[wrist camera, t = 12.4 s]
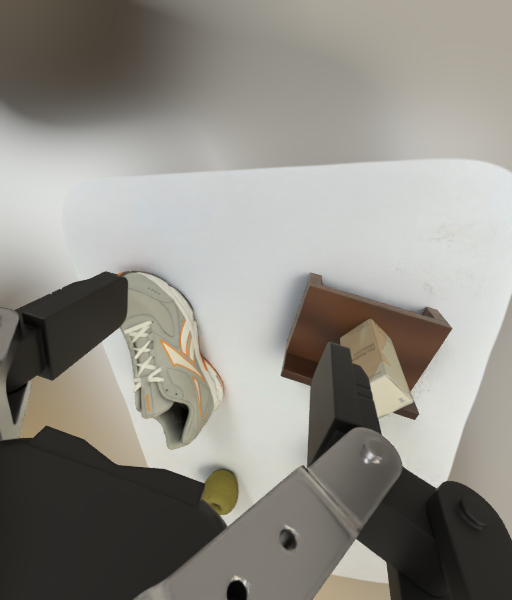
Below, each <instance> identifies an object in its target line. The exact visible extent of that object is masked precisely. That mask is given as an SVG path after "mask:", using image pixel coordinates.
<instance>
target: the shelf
mask: <svg viewBox="0 0 512 600" xmlns="http://www.w3.org/2000/svg"><path fill="white" fill-rule="evenodd" d="M368 319H372V320H373V321H374V322H375V323H376V324H377V325H378V326H379V327H380V328H381V329H382V330H383V331H384V332H385V333H386V334H387V335H388V337H389V338H390V339H391V341H392V344H393V346H394V349H395V352H396V355H397V358H398V360H399V363H400V366H401V369H402V371H403V374H404V377H405V380H406V382H407V385H408V388H409V390H410V393H411V390H412V389H413V387H414V386H415V384H416V383H417V381H418V380H419V378H420V377H421V375H422V374H423V372H424V371H425V369H426V368H427V366H428V364H429V363H430V361H431V360H432V358H433V357H434V355H435V354H436V352H437V351H438V349H439V348H440V346H441V345H442V343H443V342H444V340H445V339H446V337H447V336H448V334H449V333H450V331H451V330H452V327H451V326H450V325H449V324H448V323H447V321H446V320H445V319H444V317H443V316H442V315H441V314H440V313H439V311H438V310H435V309H432V308H428V307H426V308H425V310H424V312H423V313H422V315H421V314H417V313H414V312H411V311H407V310H404V309H400V308H397V307H394V306H390V305H387V304H384V303H380V302H377V301H374V300H370V299H367V298H364V297H360V296H357V295H354V294H350V293H347V292H343V291H340V290H337V289H333V288H330V287H327V286H323V285H322V276H320V275H317V274H314V273H311V274H310V277H309V280H308V282H307V285H306V288H305V291H304V294H303V297H302V300H301V302H300V305H299V308H298V311H297V314H296V317H295V320H294V322H293V325H292V328H291V331H290V334H289V337H288V340H287V345H286V350H285V355H284V361H283V366H282V371H281V376H282V377H285V378H288V379H291V380H294V381H297V382H300V383H304V384H307V385H310V386H311V383H312V379H313V376H314V373H315V371H316V368H317V366H318V364H319V361H320V359H321V357H322V355H323V352H324V350H325V348H326V345H327V344H328V342H332V343H335V344H339V345H340V338H341V337H342V336H344V335H345V334H347V333H348V332H350V331H351V330H353V329H354V328H356V327H357V326H359V325H360V324H362V323H364V322H365V321H367V320H368ZM411 396H412V395H411ZM412 398H413V397H412ZM393 413H395V414H398V415H401V416H404V417H407V418H410V419H413V420H415V419H416V418H417V416H418V415H419V412H418V410H417V407H416V405H415V402H414V400H413V403H411V404H409V405H407V406H404V407H402V408H400V409H398V410H396V411H394V412H393Z"/></svg>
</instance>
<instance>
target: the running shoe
mask: <svg viewBox="0 0 512 600" xmlns="http://www.w3.org/2000/svg"><path fill="white" fill-rule="evenodd" d="M117 275H120V276H123V277H126V278H127V280H128V311H127V316H126V319H125V321H124V323H123V324H122V325H121V326H120V329H121V331H122V333H123V335H124V337H125V340H126V342H127V344H128V348H129V350H130V354H131V359H132V365H133V373H134V382H135V387H134V393H135V405H136V409H137V411H139V412H141V413H142V417H143V418H145V419H148V418H154V419H156V420H157V421H158V422H159V423H160V424H161V425H162V427H163V429H164V433H165V436H166V443H167V447H168V448H169V449H171V450H173V449H176V448H180V447H183V446H186V445H188V444H189V443H191V442H192V441H193V440H194V439H195V438H196V437H197V435H198V434H199V433H200V431H201V429H202V427H203V426H204V425H205V423H206V422H207V420H208V419H209V417H210V416H211V414H212V412H213V411H214V410H216V409H217V407H218V406H219V405H220V403H221V402H222V400H223V395H224V388H223V382H222V381H221V378H220V376H219V374H217V371H216V370H215V369H214V368H213V366H212V365H211V364H210V363H208V362H207V361H206V360H205V359H203V357H202V355H201V353H200V350H199V341H198V327H197V323H196V321H195V320H193V310H192V307H191V305H190V303H189V302H188V300H187V299H186V298H185V297H184V295H183V294H182V293H181V292H180V291H178V290H177V289H175V288H173V287H171V286H168V283H167V282H166V281H164V280H163V279H161V278H159V277H158V276H155V275H153V274H150V273H146V272H140V271H131V272H129V271H127V272H122V273H119V274H117Z"/></svg>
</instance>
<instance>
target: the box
mask: <svg viewBox="0 0 512 600" xmlns="http://www.w3.org/2000/svg"><path fill="white" fill-rule="evenodd" d="M340 345H342V346H345V347H348V348H350V352H351V358H352V363H354V364H357V365H360V366H361V367H362V369H363V370H364V371H365V373H366V374H367V376H368V377H369V382H370V386H371V391H372V395H373V400H374V403H375V408H376V412H377V416H378V419H379V418H381V417H384V416H386V415H388V414H390V413H393V412H394V411H396V410H398V409H400V408H402V407H404V406H407V405H409V404H411V403H413V398H412V396H411V393H410V390H409V388H408V385H407V382H406V380H405V377H404V374H403V371H402V369H401V366H400V363H399V360H398V358H397V355H396V352H395V349H394V346H393V344H392V341H391V339H390V338H389V337H388V335H387V334H386V333H385V332H384V331H383V330H382V329H381V328H380V327H379V326H378V325H377V324H376V323H375V322H374V321H373V320H372V319H368V320H367V321H365V322H364V323H362V324H360V325H359V326H357V327H356V328H354V329H353V330H351V331H350V332H348V333H347V334H345V335H344V336H342V337H341V338H340Z"/></svg>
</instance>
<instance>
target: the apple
mask: <svg viewBox="0 0 512 600" xmlns="http://www.w3.org/2000/svg"><path fill="white" fill-rule="evenodd" d="M202 499H203V500H205V501H206V502H207V503H209V504H210V505H211V506H212V507H213V508H214V509H215V510H216V511H217V512H218V514H219V515H225V514H228V513H229V512H231V511H232V509H233V508H234V507H235V505H236V502H237V499H238V482H237V479H236V477H235V476H234V475H233V474H232V473H231V472H229V471H226V470H217V471H215V472H213V473H212V474H211V475H210V476H209V477H208V479H207V480H206V482H205V488H204V492H203V496H202Z"/></svg>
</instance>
